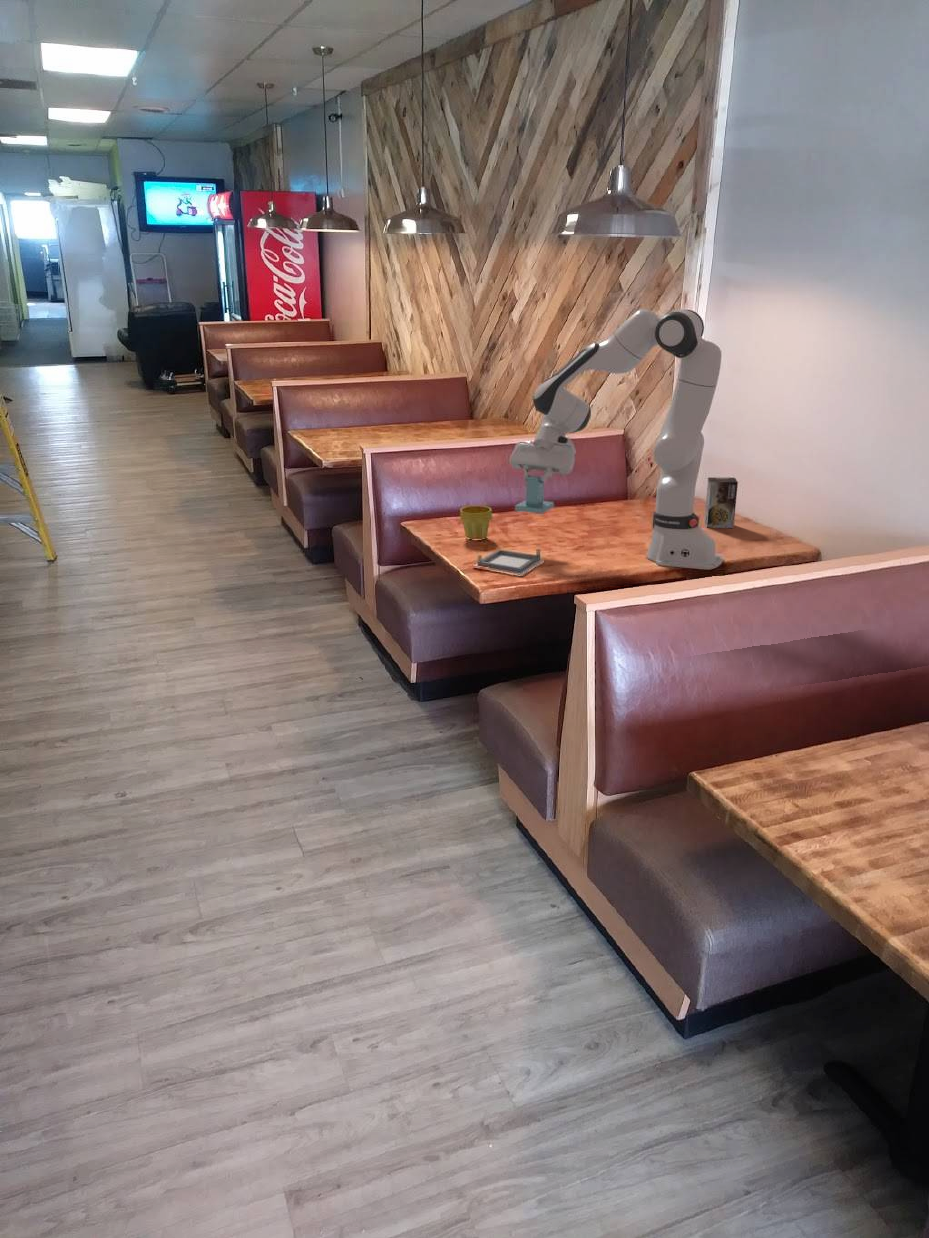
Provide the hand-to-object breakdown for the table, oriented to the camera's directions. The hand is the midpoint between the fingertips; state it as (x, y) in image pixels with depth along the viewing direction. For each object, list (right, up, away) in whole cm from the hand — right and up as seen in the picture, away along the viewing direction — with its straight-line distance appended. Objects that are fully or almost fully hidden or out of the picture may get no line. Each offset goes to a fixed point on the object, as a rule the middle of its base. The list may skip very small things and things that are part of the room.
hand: (534, 481), depth 276 cm
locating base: (-8, -26, -5) cm, 28 cm away
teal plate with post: (0, -8, +4) cm, 9 cm away
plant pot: (-17, -16, +21) cm, 32 cm away
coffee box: (+66, -10, +34) cm, 74 cm away
